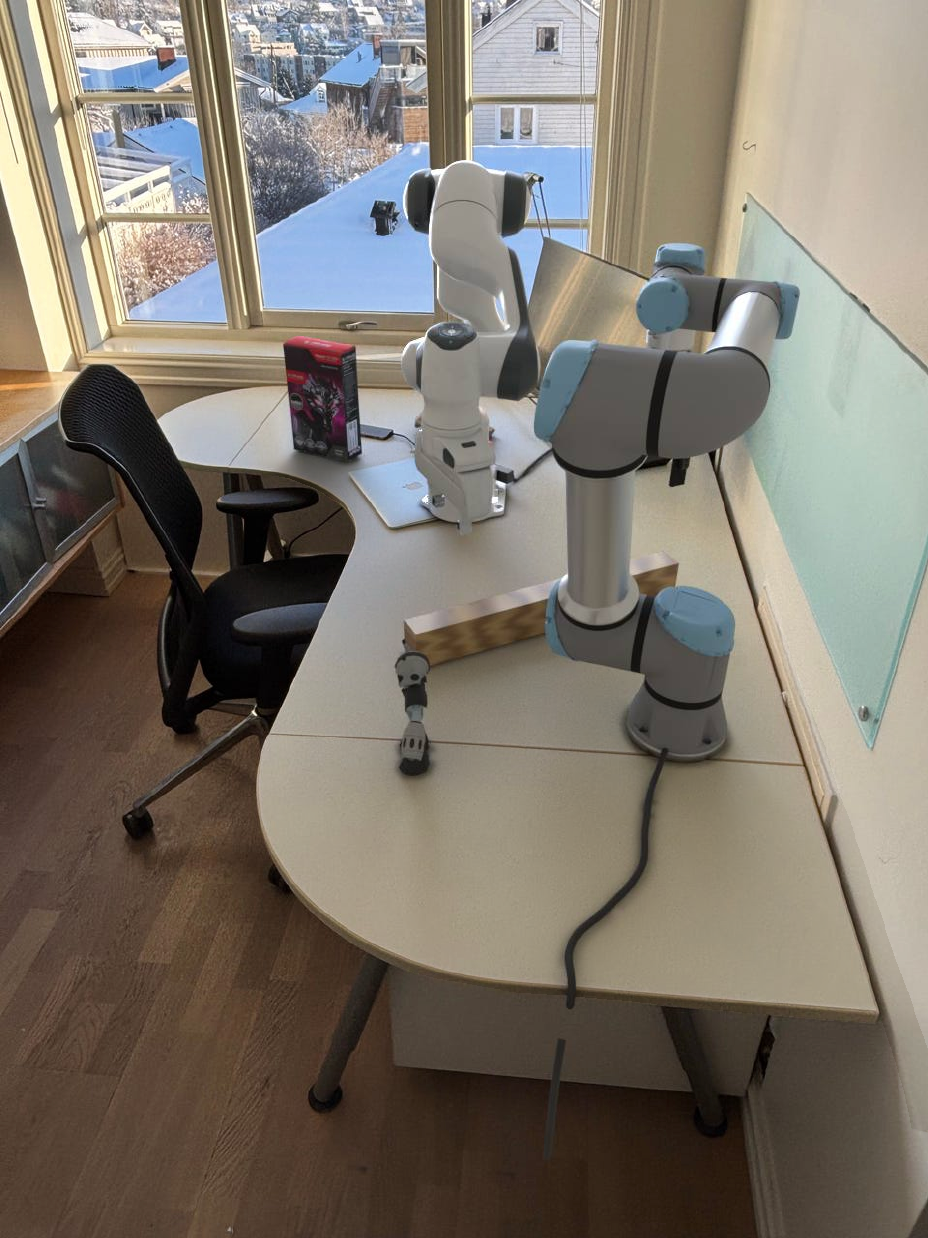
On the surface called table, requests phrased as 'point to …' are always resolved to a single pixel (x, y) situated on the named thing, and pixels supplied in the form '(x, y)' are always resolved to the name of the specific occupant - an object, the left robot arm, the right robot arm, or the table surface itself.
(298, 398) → the graphics card box
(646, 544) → the table surface
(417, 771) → the robot
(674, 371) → the right robot arm
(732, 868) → the table surface
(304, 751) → the table surface
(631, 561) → the post
